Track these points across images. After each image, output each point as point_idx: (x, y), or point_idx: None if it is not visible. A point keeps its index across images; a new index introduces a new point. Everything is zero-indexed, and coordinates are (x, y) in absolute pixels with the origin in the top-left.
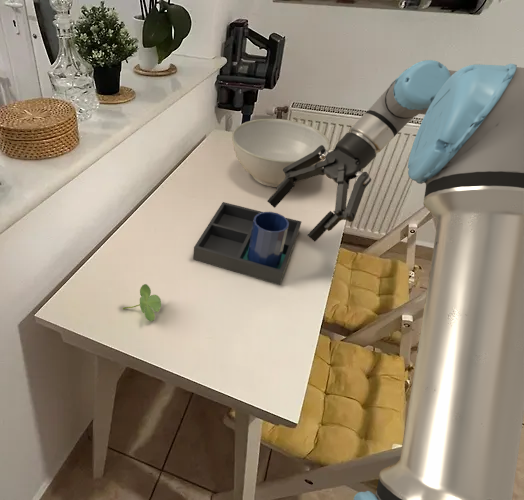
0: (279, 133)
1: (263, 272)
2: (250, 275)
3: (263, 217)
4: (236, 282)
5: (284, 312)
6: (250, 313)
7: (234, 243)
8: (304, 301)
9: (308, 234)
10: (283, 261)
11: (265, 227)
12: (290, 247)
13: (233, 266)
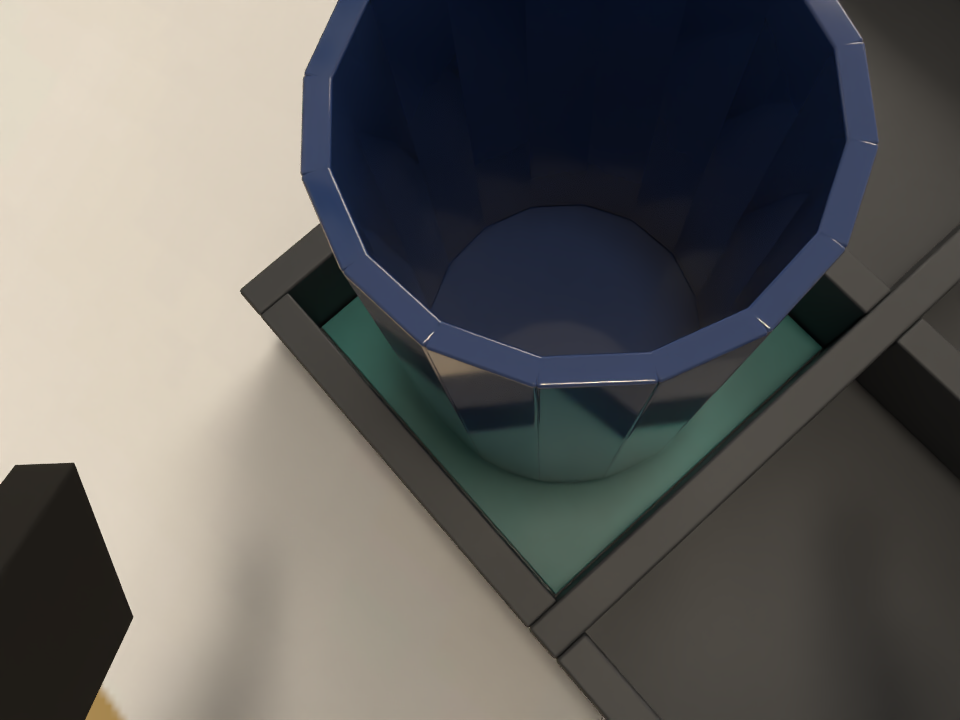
0: None
1: None
2: None
3: (818, 175)
4: None
5: (52, 209)
6: (161, 3)
7: (893, 235)
8: (58, 407)
9: (52, 474)
10: (364, 385)
11: (753, 294)
12: (520, 592)
13: None
